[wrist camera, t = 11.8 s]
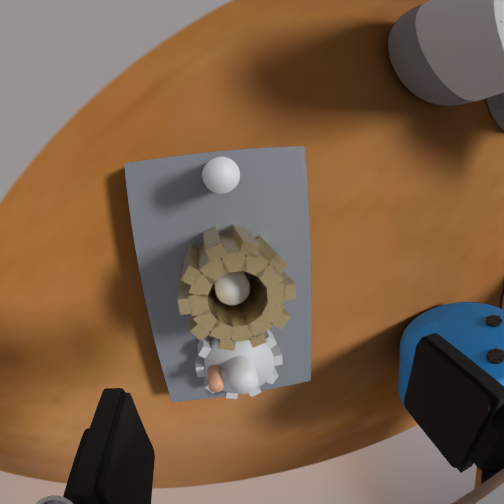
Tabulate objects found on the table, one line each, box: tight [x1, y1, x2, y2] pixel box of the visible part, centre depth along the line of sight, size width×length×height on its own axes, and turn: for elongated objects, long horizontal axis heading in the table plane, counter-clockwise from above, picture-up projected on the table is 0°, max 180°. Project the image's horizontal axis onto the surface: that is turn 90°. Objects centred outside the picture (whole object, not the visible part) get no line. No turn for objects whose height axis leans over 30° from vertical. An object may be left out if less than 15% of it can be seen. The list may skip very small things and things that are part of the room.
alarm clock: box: [398, 302, 504, 414], centre depth 22 cm, size 13×6×15 cm, turn 104°
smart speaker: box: [388, 0, 504, 106], centre depth 15 cm, size 10×9×14 cm
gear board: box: [124, 146, 312, 402], centre depth 21 cm, size 12×19×6 cm, turn 5°
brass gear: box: [178, 225, 296, 351], centre depth 19 cm, size 6×6×5 cm
